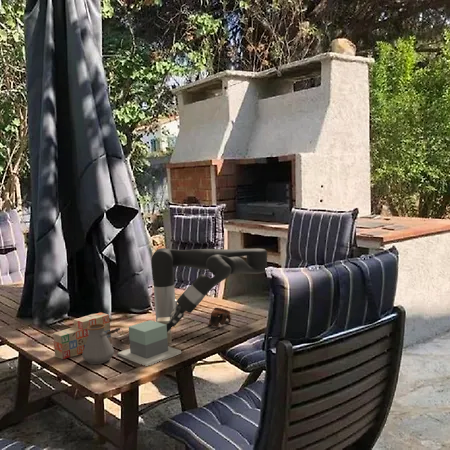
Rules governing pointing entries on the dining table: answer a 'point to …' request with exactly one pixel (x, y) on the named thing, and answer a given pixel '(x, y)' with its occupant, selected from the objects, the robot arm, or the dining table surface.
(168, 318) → the cream brick
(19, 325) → the dining table surface
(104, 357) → the coffee pot
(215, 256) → the robot arm
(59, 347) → the stack of blocks
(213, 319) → the brown toy animal
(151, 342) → the tower base
